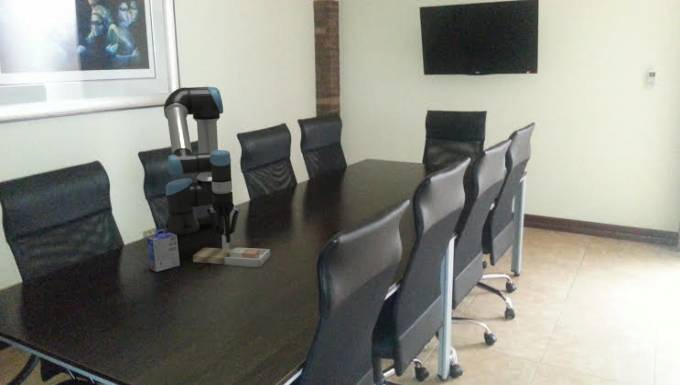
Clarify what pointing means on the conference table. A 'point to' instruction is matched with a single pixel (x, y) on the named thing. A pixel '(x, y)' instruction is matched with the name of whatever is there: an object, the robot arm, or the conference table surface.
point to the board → (211, 255)
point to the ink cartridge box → (163, 251)
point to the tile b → (250, 254)
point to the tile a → (237, 253)
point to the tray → (249, 259)
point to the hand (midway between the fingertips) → (225, 250)
